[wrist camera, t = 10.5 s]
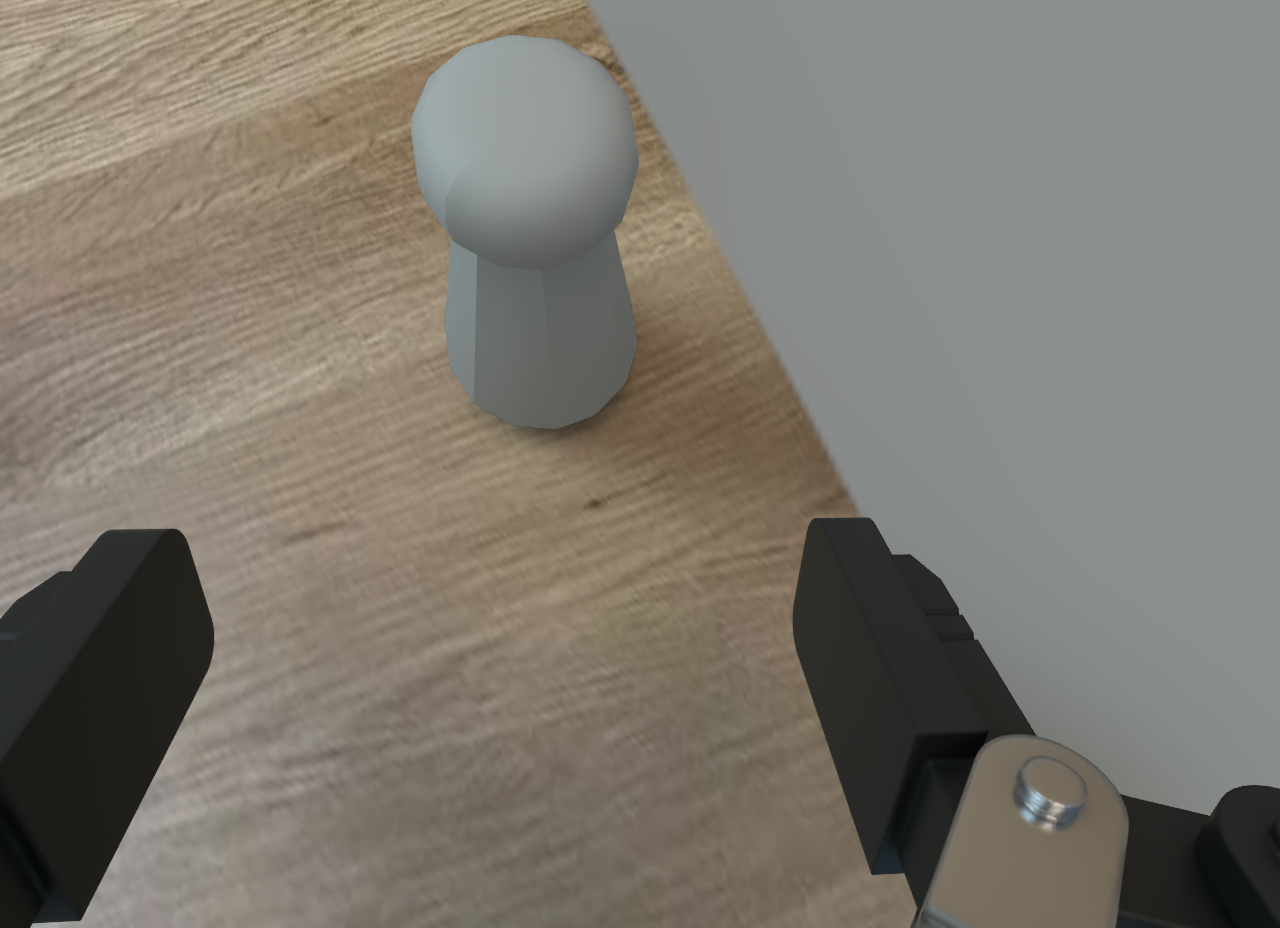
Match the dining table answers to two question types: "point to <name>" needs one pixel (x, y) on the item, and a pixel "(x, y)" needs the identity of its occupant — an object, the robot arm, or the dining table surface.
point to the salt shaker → (531, 225)
